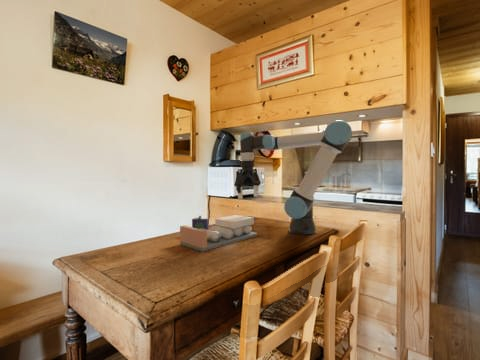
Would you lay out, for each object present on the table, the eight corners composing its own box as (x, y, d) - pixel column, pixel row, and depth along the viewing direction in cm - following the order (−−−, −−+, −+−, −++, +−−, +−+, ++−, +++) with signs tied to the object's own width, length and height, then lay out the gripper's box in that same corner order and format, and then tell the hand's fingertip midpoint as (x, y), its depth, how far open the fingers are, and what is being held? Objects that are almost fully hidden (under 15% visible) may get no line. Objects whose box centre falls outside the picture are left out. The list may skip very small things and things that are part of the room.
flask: (208, 233, 154) (208, 215, 154) (207, 235, 151) (207, 216, 151) (192, 233, 155) (192, 215, 154) (191, 235, 152) (191, 216, 151)
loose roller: (221, 241, 132) (221, 231, 131) (213, 243, 128) (213, 233, 128) (204, 236, 141) (204, 227, 141) (197, 238, 137) (196, 229, 137)
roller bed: (258, 235, 148) (258, 219, 147) (202, 251, 121) (202, 231, 120) (235, 230, 160) (235, 215, 160) (180, 244, 133) (179, 226, 133)
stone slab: (254, 223, 148) (254, 217, 148) (233, 228, 137) (233, 221, 137) (236, 220, 158) (236, 214, 158) (215, 225, 146) (215, 218, 146)
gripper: (256, 160, 165) (257, 195, 166) (227, 160, 147) (228, 199, 147) (265, 160, 160) (266, 195, 161) (237, 159, 142) (238, 200, 142)
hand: (248, 197), depth 154 cm, fingers open, 13 cm apart
